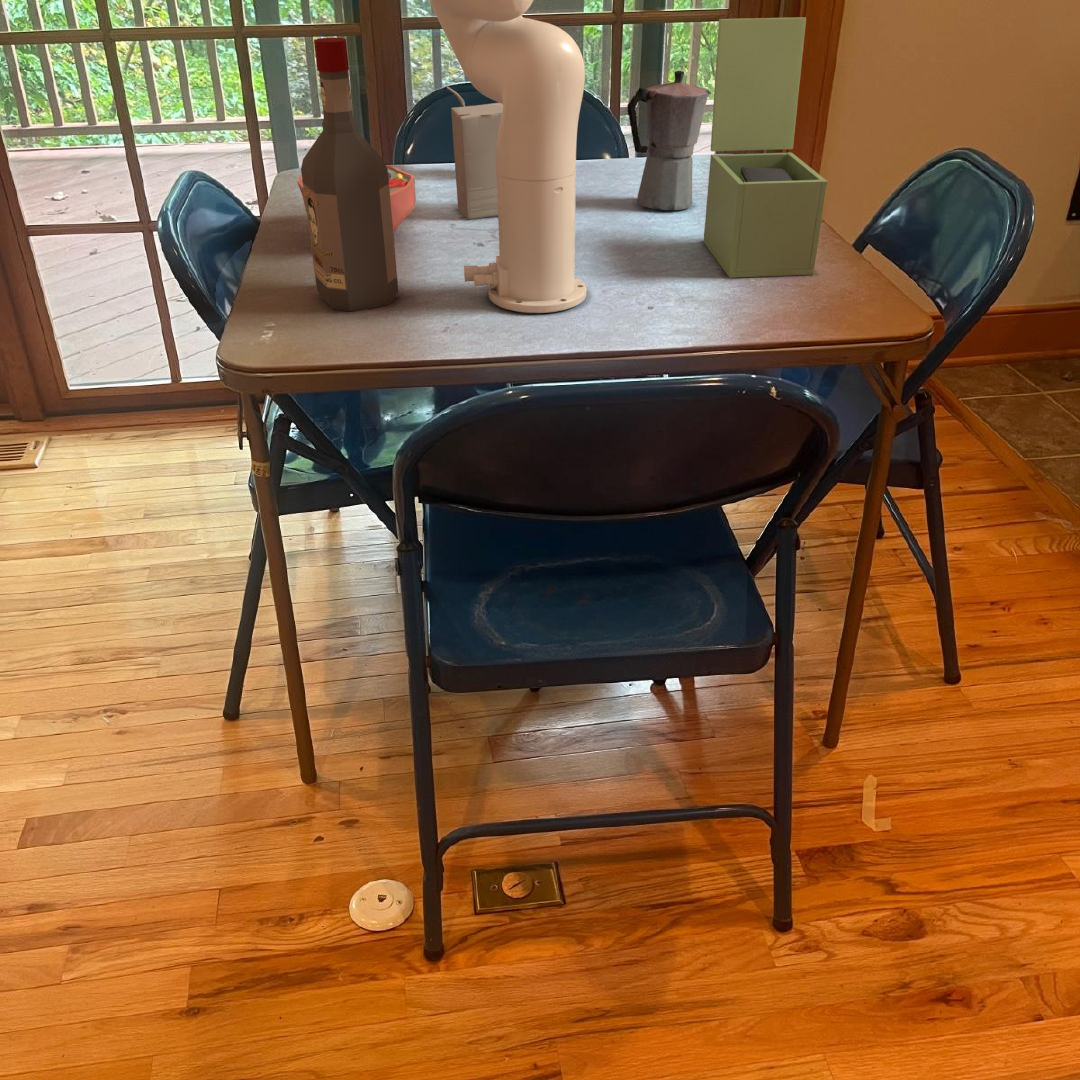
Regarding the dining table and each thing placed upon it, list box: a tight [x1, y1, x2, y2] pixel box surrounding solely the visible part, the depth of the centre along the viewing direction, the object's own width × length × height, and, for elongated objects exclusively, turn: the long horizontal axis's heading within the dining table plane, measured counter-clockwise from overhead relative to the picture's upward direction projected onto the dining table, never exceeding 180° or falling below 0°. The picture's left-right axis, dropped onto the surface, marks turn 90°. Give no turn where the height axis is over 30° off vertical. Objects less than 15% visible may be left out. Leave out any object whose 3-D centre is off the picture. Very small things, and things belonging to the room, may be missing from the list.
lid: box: [710, 16, 807, 152], centre depth 136 cm, size 16×12×1 cm
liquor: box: [300, 37, 399, 312], centre depth 121 cm, size 9×9×30 cm
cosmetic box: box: [450, 102, 503, 220], centre depth 156 cm, size 8×7×16 cm
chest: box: [703, 151, 828, 279], centre depth 138 cm, size 16×12×12 cm
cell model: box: [296, 165, 417, 234], centre depth 147 cm, size 17×20×11 cm
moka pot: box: [626, 70, 712, 211], centre depth 157 cm, size 10×15×20 cm, turn 124°
